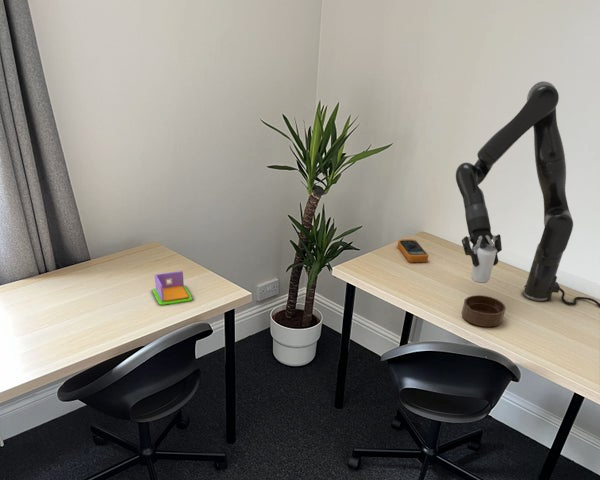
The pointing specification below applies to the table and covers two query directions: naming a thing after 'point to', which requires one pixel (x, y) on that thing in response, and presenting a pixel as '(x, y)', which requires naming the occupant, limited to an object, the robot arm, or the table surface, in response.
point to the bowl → (483, 310)
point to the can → (484, 263)
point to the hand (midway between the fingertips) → (486, 265)
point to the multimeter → (412, 250)
